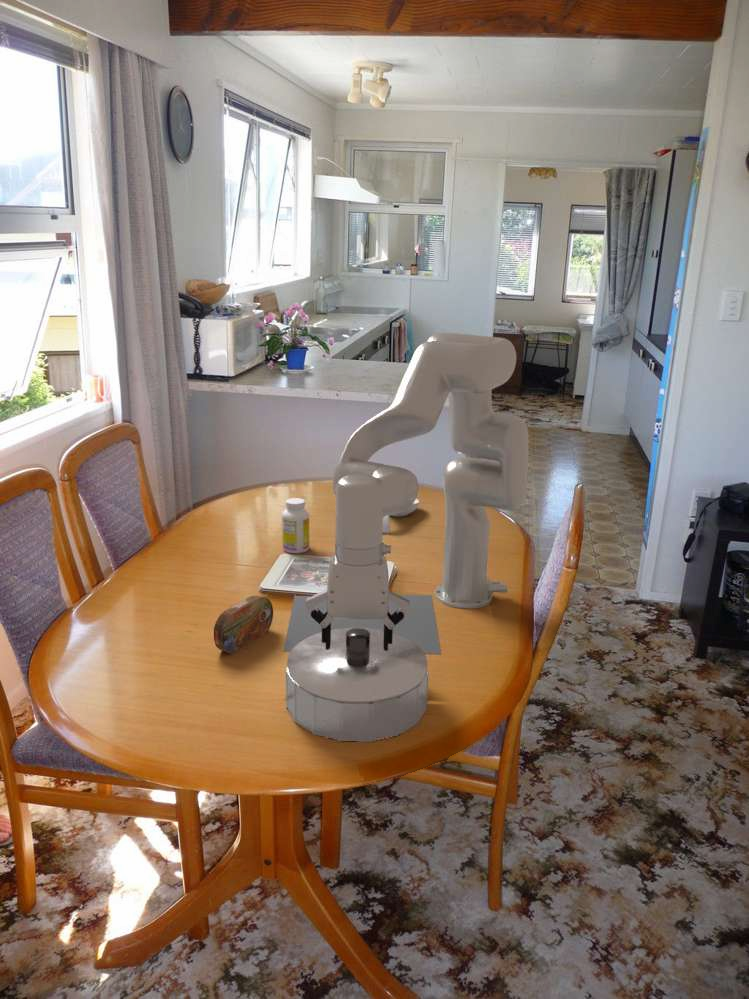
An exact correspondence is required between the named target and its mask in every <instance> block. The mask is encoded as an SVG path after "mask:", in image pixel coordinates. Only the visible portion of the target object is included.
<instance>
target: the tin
mask: <svg viewBox="0 0 749 999" xmlns="http://www.w3.org/2000/svg"><path fill="white" fill-rule="evenodd" d="M273 617H274V606H273V603H272V601H271V600H270V599H269V598H267V597H266V596H260V595H259V596H258V595H250V596H249V597H246V598H245V599H243V600H241V601H240V602H238V603H236V604H235V605H233V606H231V607H229V608H227V609H226V610H224V611H222V613H221V614H220V615H218V617H217V620H216V621H215V623H214V625H213V626H214V627H213V642H214V645H215V647H216V648H217V649H218V650H220V651H222V652H225V653H227V654H228V655H229V654H230V655H233V654H235V653H236V651H238V650H240V649H241V648H243V647H245V646H247V645H248V644H250V643H252V642H253V641H255V640H257V639H258V638H260V637H261V636H264V635H265V634H267V633H268V632H269V630H270V627H271V626H272V623H273V619H274V618H273Z"/></svg>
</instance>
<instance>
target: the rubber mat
mask: <svg viewBox="0 0 749 999" xmlns="http://www.w3.org/2000/svg"><path fill="white" fill-rule="evenodd" d="M397 594H398V593H397ZM398 595H400V596H402V597H404V598H406V599H408V600H409V601H410V605H411V606H410V608H409V610H408V611H407V613H406V614H405V616H404V618H403V619H402V620H401V621H400V622H399V623H398V624H396V625H395V627H394V629H393V633H395V634H398V635H400V636H402V637H405V638H407V639H409V640H410V641H412V642H413V643H415V644H416V645H417V646H418V647H420V648H421V650H422V651H423V652H424V654H425V655H442V649H441V645H440V643H441V642H440V638H439V633H438V627H437V619H436V615H435V614H436V613H435V608H434V601H433V597H432V595H431V594H398ZM308 597H310V596H296V595H295V594H294V597H293V601H292V607H291V612H290V617H289V621H288V622H289V623H288V627H287V632H286V635H285V641H284V648H283V653H286V652H287V653H290V652H291V650H292V649H293V648H294V647H295V646H296V645H297V644H298V643H300V642H301V641H303V640H304V639H306V638H308V637H310V636H313V635H315V634H318V633H321V632H322V628H321V627H320V624H319V623H318V622H316V621H315V620H314V619H313V618H312V617H311V614H310V612H309V611H308V609H307V608H306V606H305V600H306V598H308ZM316 607H317V608H318V609H319V610H320V611H321V612H322V613H324V612H325V611H326V610H327V600H325V601H323V602H320V603H318V604H316ZM399 607H400V606H398V605H396V604H394V603H392V602H390V601H389V608H388V611H389V612H390V613H391V614H393V613H394V612H396V611H397V610H398V609H399ZM341 628H371V629H378V630H384V623H383V622H382V621H381V620H380V619H340V618H335V619H334V620H333V621H332V622H331V630H334V629H341Z"/></svg>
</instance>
